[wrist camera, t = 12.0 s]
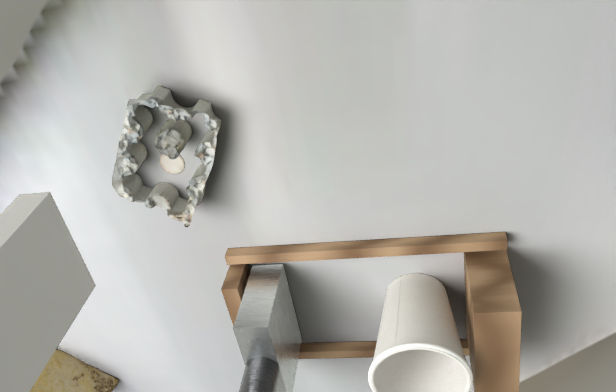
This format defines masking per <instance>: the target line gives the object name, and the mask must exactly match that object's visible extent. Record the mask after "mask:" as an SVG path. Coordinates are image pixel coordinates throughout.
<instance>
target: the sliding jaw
mask: <svg viewBox="0 0 616 392" xmlns="http://www.w3.org/2000/svg"><path fill="white" fill-rule="evenodd" d="M233 330H234V333H235V336H236V339H237V342H238V345H239V348H240V351H241V354H242V356H243V359H244V362H245V365H246V367H245V371H244V375H243V378H242V382H241V386H240V390H239V392H293V386H294V380H295V374H296V369H297V363H298V357H299V351H300V346H301V340H302V338H301V334H300V330H299V326H298V322H297V318H296V314H295V310H294V306H293V302H292V298H291V294H290V290H289V286H288V282H287V278H286V274H285V270H284V266H283V264H276V265H257V266H252V268H251V272H250V275H249V278H248V281H247V285H246V288H245V291H244V294H243V298H242V301H241V304H240V307H239V310H238V314H237V317H236V320H235V323H234V327H233Z"/></svg>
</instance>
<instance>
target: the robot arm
mask: <svg viewBox="0 0 616 392" xmlns="http://www.w3.org/2000/svg"><path fill="white" fill-rule="evenodd" d="M95 286H96V285H95V283H94V281H93V279H92V277H91V275H90V273H89V271H88V269H87V267H86V265H85V263H84V261H83V259H82V257H81V255H80V252H79V250H78V248H77V246H76V244H75V242H74V240H73V238H72V236H71V234H70V232H69V230H68V228H67V226H66V224H65V222H64V220H63V218H62V216H61V214H60V212H59V210H58V207H57V205H56V203H55V201H54V199H53V197H52V195H51V193H50V192H45V193H33V194H22V195H19V196H18V197H17V198H16V199H15V200H14V201H13V202H12V203H11V204H10V205H9V206H8V207H7V208H6V209H5V210H4V211H3V212H2V213H1V214H0V392H30V390H31V389H32V387H33V385H34V384H35V382H36V381H37V379H38V377H39V376H40V374H41V373H42V371H43V369H44V368H45V366H46V365H47V363H48V361H49V360H50V358H51V356H52V355H53V353H54V352H55V350H56V348H57V347H58V345H59V344H60V342H61V340H62V339H63V337H64V336H65V334H66V332H67V331H68V329H69V328H70V326H71V324H72V323H73V321H74V320H75V318H76V316H77V315H78V313H79V312H80V310H81V308H82V307H83V305H84V304H85V302H86V300H87V299H88V297H89V295H90V294H91V292H92V291H93V289H94V287H95Z"/></svg>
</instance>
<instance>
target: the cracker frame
mask: <svg viewBox="0 0 616 392" xmlns="http://www.w3.org/2000/svg"><path fill="white" fill-rule="evenodd" d="M507 243H508V240H507V236H506V233H505V232H495V233H478V234H461V235H445V236H428V237H411V238H394V239H378V240H361V241H344V242H328V243H311V244H294V245H277V246H261V247H244V248H228V249H227V252H226V255H225V259H226V262H227V265H230V267H229V270H228V272H227V275H226V278H225V281H224V283H223V286H222V289H221V290H222V293H223V296H224V299H225V302H226V305H227V308H228V311H229V314H230V317H231V320H232V323H233V326H234V323H235V320H236V317H237V314H238V310H239V307H240V304H241V301H242V298H243V294H244V291H245V288H246V285H247V281H248V278H249V275H250V270H249V266H248V264H254V263H272V262H291V261H309V260H328V259H346V258H365V257H383V256H402V255H420V254H439V253H457V252H464V271H465V299H466V328H467V339H460V341H461V345H462V348H463V352H464V355H469V356H470V363H471V370H472V374H473V385H474V392H519V372H520V343H521V315H522V311H521V307H520V303H519V299H518V295H517V291H516V287H515V283H514V279H513V275H512V271H511V267H510V263H509V259H508V255H507V251H506V250H507ZM376 343H377V341H368V342H329V343H301V346H300V351H299V357H298V359H314V358H363V357H374V353H375V348H376Z"/></svg>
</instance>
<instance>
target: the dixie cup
mask: <svg viewBox="0 0 616 392" xmlns="http://www.w3.org/2000/svg"><path fill="white" fill-rule="evenodd" d="M368 380H369V384H370V387H371V389H372V390H373V392H470V391H471V388H472V385H473V374H472V370H471V368H470V366H469V365H468V363H467V362H466V359H465V355H464V352H463V348H462V345H461V341H460V338H459V334H458V331H457V327H456V324H455V320H454V317H453V313H452V310H451V307H450V303H449V299H448V296H447V292H446V289H445V287H444V286H443V284H442V283H441V282H440V281H439V280H437V279H436V278H434V277H432V276H429V275H426V274H420V273H413V274H407V275H403V276H400V277H398V278H396V279H395V280H394V281H392V282H391V284H390V285H389V286H388V289H387V292H386V297H385V302H384V307H383V312H382V318H381V323H380V328H379V333H378V338H377V343H376V348H375V353H374V359H373V362H372V364H371V366H370V368H369V372H368Z"/></svg>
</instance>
